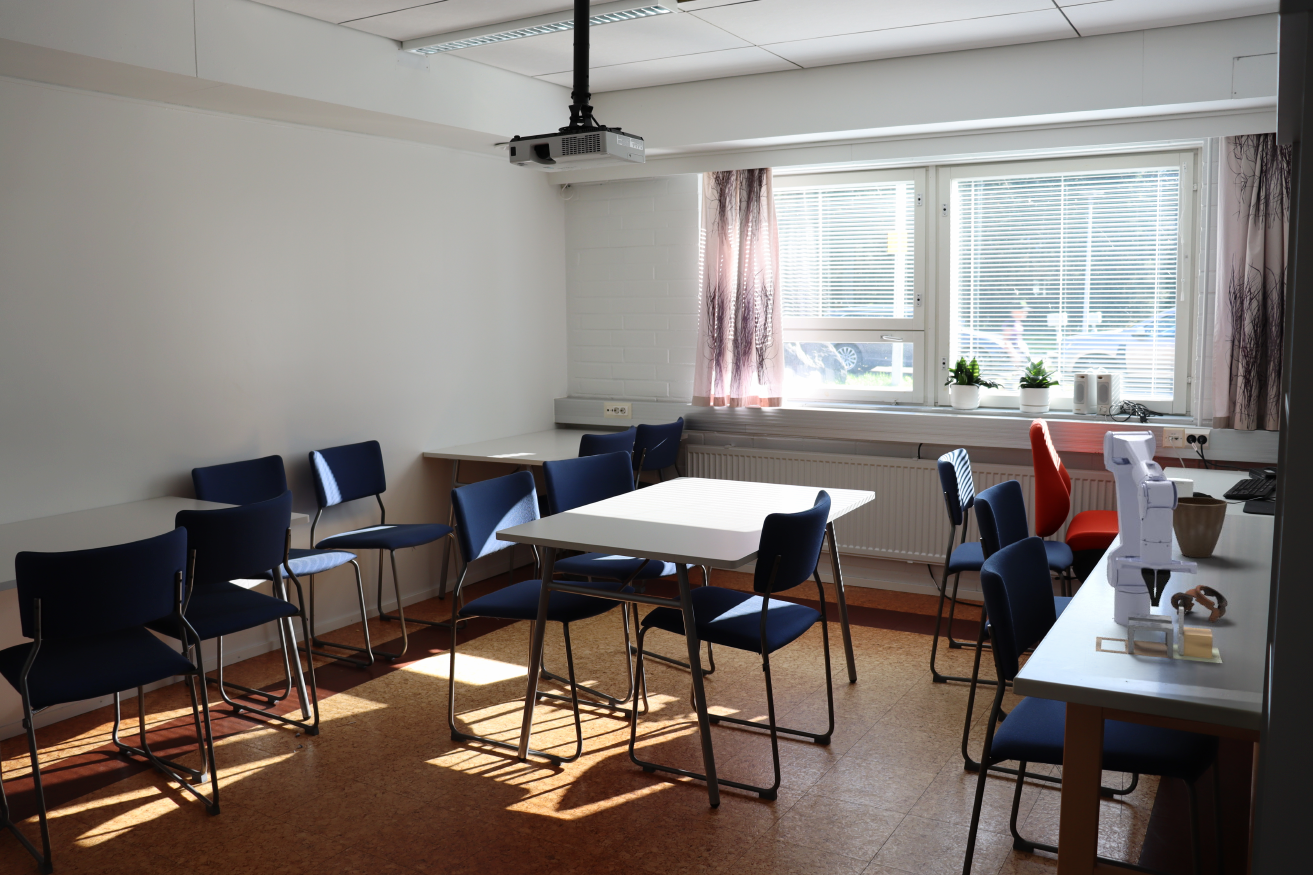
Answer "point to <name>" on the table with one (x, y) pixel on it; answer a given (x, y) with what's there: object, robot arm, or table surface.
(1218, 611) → the brown headphones
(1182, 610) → the paddle
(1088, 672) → the table surface
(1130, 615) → the tunnel
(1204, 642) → the block
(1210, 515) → the plant pot
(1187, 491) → the skincare box
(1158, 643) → the board
